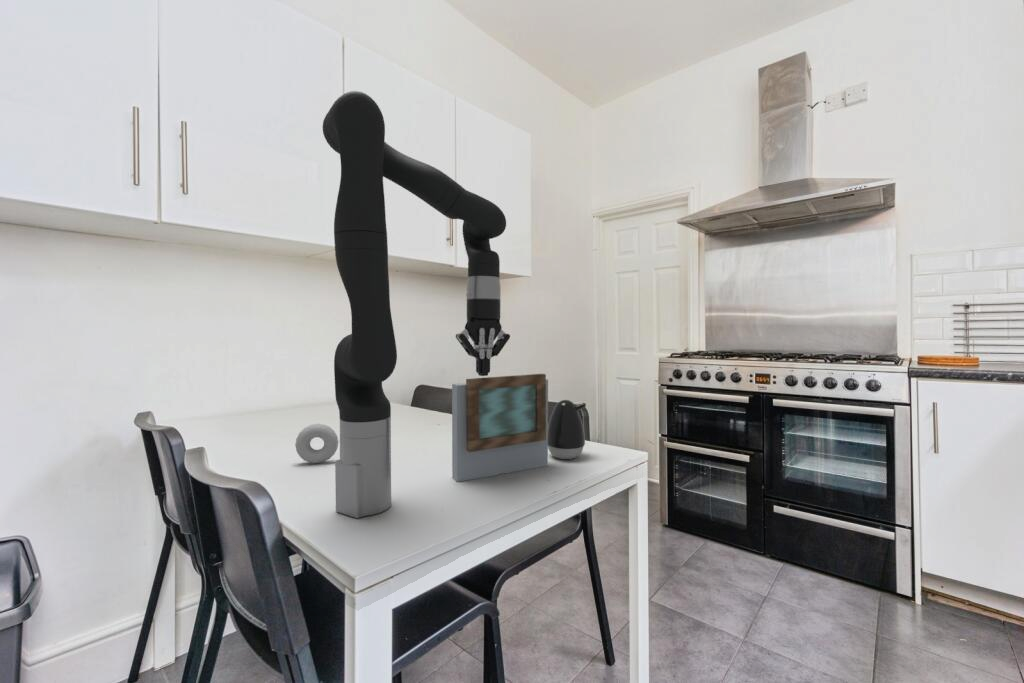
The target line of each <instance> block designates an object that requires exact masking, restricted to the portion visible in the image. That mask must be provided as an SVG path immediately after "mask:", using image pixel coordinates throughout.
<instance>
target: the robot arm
mask: <svg viewBox="0 0 1024 683" xmlns="http://www.w3.org/2000/svg"><path fill="white" fill-rule="evenodd" d="M385 130H386V123H385V118H384V116H383V113H382V111H381V108H380V106H379V105H378V103H377V102H376V101H375V100H374V99H373V98H372V97H371V96H370V95H369V94H368V93H364V92H363V91H359V90H351V91H347V92H345V93H343V94H342V95H340V96H339V97H337V99H336V100H335V101H334V102H333V104H332V105H331V107H330V108H329V110H328V112H327V113H326V114H325V116H324V118H323V122H322V133H323V137H324V139H325V141H326V143H327V144H328V145H329V146H330V148H331V149H333V151H335V152H336V153H337V154H339V159H340V180H339V187H338V193H337V198H336V199H337V200H336V204H335V211H334V219H333V220H334V221H333V240H334V256H335V262H336V265H337V269H338V273H339V277H340V279H341V282H342V284H343V287H344V290H345V293H346V294H347V297H348V302H349V306H350V311H351V312H350V315H351V333H350V334H347V335H346V336H344V337H343V338H342V339H340V342H339V343H338V344H337V346H336V349H335V352H334V360H333V370H334V376H333V377H334V390H335V391H334V392H335V393H334V394H335V402H336V405H337V407H338V410H339V411H338V412H339V459H337V460H336V461H335V463H334V464H335V465H334V466H335V468H334V469H335V470H334V471H335V473H334V474H335V476H334V477H335V512H336V513H340V514H343V515H346V516H349V517H352V518H355V519H360V518H362V517H367V516H374V515H376V514H380V513H383V512H384V511H386V510H388V509H389V508H390V507H391V506H392V439H391V438H392V429H391V428H392V417H391V415H392V414H391V413H392V407H391V401H390V400H389V399H388V397H387V396H386V394H385V391H384V388H383V382H385V381H386V380H387V379H388V378H390V377H391V375H392V374H393V372H394V371H395V368H396V365H397V361H398V350H397V343H396V337H395V332H394V324H393V319H392V311H391V301H390V298H391V296H390V294H391V293H390V277H389V276H390V275H389V253H388V252H389V250H388V249H389V248H388V232H387V230H388V229H387V220H386V218H387V217H386V202H385V190H384V189H385V188H384V178H385V179H387V180H388V181H390V182H392V183H394V184H396V185H397V186H399V187H402V188H403V189H405V190H406V191H408V192H410V193H411V194H413V195H415V197H417V198H419V199H420V200H421V201H423V202H424V203H426V204H427V205H429V206H430V207H432V208H434V209H435V210H436V211H437V212H439V213H440V214H441V215H443V216H444V217H446V218H448V219H451V220H461V221H463V222H462V223H463V224H462V238H463V242H464V247H465V251H466V255H467V261H468V262H467V283H466V294H465V295H466V323H465V325H464V329H463V330H462V331H461V332H460V333H456V334H455V338H456V340H457V341H458V342H459V344H460V345H461V347H462V348H463V349H464V350H465V352H466V353H467V355H468V356H470V357H473V358H475V362H476V363H475V371H476V373H477V374H478V376H480V377H487V376H488V375H489V374H490V372H491V359H492V358H493V357H495V356H496V357H498V355H499V354H500V353H501V351H502V350H503V348H504V347H505V346H506V344H507V343H508V342H509V340H510V338H511V335H510V334H509V333H507V332H505V331H504V330H503V329H502V328H503V327H502V324H501V282H500V271H501V270H500V269H501V268H500V262H501V261H500V256H499V253H497V252H496V251H494V250H492V249H491V244H490V243H491V242H490V239H495V238H498V237H499V236H501V235H502V234H503V233H504V232H505V230H506V228H507V219H506V216H505V214H504V212H503V210H502V209H501V208H500V207H499V206H498V205H497V204H495V202H492V201H490V200H488V199H487V198H485V197H483V196H480V195H478V194H476V193H475V192H471V191H469V190H467V189H466V188H464V187H463V186H462V185H460V184H459V183H458V182H457V181H455V180H454V179H453V178H452V177H450V176H449V175H447V174H446V173H445V172H443V171H442V170H440V169H438V168H436V167H434V166H432V165H430V164H428V163H427V162H426V163H425V162H423V161H420V160H417V159H415V158H414V157H413V158H412V157H411V156H408V155H406V154H404V153H402V152H400V151H398V150H397V149H395V148H394V147H392V146H391V145H389V143H387V142H386V141H385V138H386V137H385V136H386V131H385ZM469 338H470V339H471V341H469ZM496 339H497V340H496ZM494 341H496V342H495V343H494ZM471 342H473V344H472V343H471ZM488 377H489V376H488Z"/></svg>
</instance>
